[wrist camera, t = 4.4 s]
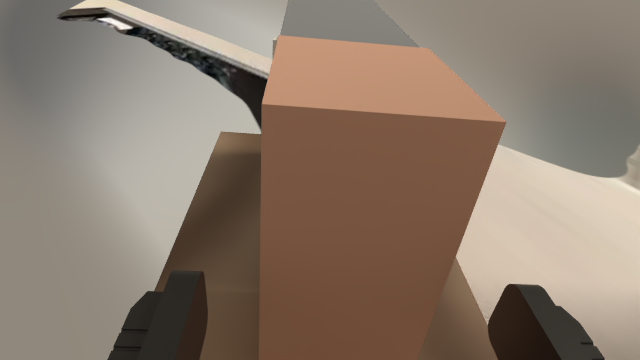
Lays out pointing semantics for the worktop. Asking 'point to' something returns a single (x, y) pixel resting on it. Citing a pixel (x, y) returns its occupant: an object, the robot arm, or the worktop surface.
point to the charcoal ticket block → (342, 22)
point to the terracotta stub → (363, 196)
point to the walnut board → (244, 264)
